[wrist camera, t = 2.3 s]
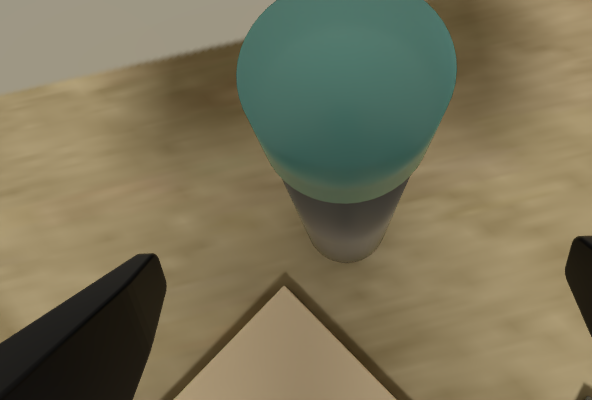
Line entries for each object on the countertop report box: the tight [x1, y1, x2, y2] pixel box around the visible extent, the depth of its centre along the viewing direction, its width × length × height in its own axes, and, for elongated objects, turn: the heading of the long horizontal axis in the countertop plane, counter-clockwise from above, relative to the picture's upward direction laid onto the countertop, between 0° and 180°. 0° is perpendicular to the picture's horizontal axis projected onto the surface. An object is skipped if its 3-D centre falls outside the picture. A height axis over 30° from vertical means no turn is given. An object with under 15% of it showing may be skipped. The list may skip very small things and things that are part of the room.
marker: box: [236, 0, 457, 263], centre depth 14 cm, size 4×4×13 cm
